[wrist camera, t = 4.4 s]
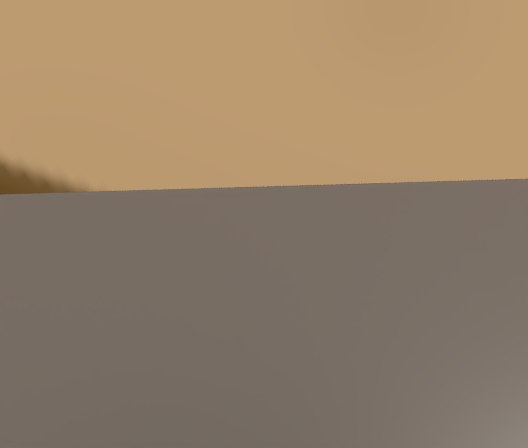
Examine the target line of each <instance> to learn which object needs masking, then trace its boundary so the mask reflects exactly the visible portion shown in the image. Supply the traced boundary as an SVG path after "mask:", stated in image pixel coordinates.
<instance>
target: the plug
mask: <svg viewBox="0 0 528 448" xmlns="http://www.w3.org/2000/svg"><path fill="white" fill-rule="evenodd" d="M0 448H528V179H505V180H474V181H473V180H471V181H437V182H407V183H406V182H404V183H370V184H336V185H305V186H303V185H302V186H273V187H272V186H271V187H270V186H268V187H235V188H201V189H168V190H133V191H99V192H65V193H31V194H0Z"/></svg>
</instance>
